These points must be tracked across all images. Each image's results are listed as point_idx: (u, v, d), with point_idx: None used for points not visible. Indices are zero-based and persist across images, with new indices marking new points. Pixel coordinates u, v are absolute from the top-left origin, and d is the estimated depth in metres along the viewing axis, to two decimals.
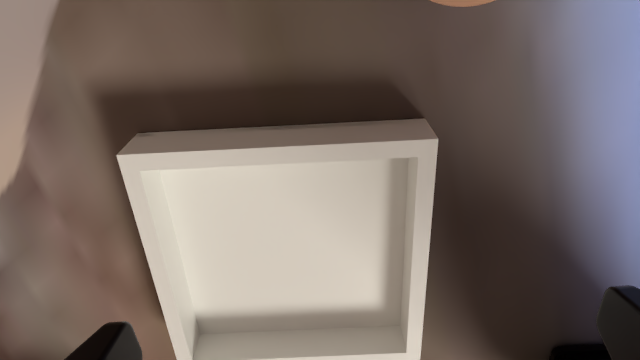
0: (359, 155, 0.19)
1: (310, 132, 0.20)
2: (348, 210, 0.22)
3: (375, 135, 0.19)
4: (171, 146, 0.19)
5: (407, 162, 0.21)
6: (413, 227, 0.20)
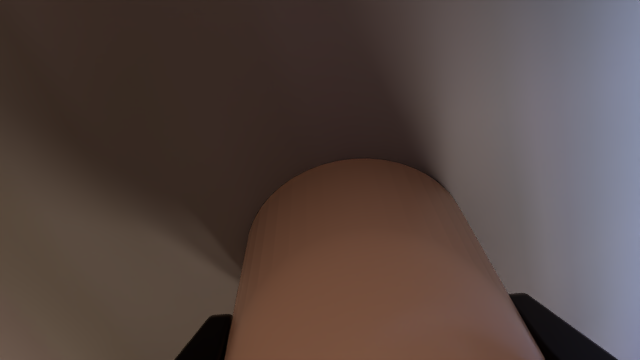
0: None
1: None
2: None
3: None
4: None
5: None
6: None
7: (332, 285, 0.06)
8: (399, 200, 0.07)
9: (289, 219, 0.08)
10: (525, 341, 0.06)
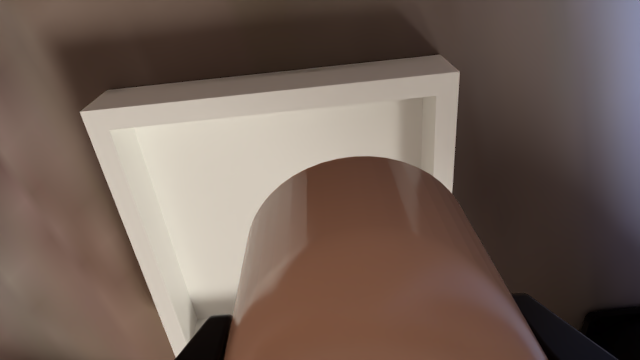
0: (366, 97, 0.16)
1: (307, 76, 0.17)
2: None
3: (384, 73, 0.16)
4: (145, 99, 0.16)
5: (421, 108, 0.18)
6: None
7: (332, 283, 0.06)
8: (399, 198, 0.07)
9: (289, 217, 0.08)
10: (527, 339, 0.05)
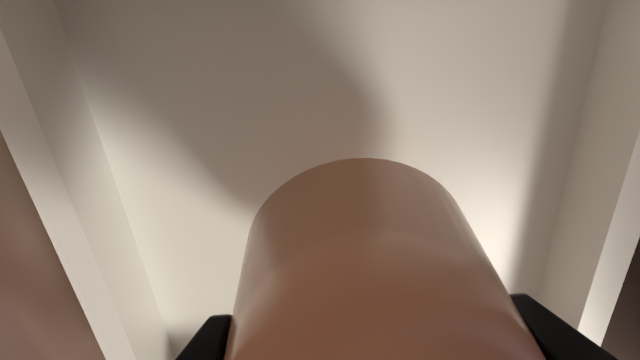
0: None
1: None
2: (465, 116, 0.11)
3: None
4: None
5: None
6: (634, 134, 0.09)
7: (331, 286, 0.06)
8: (399, 200, 0.07)
9: (289, 219, 0.08)
10: (526, 341, 0.05)
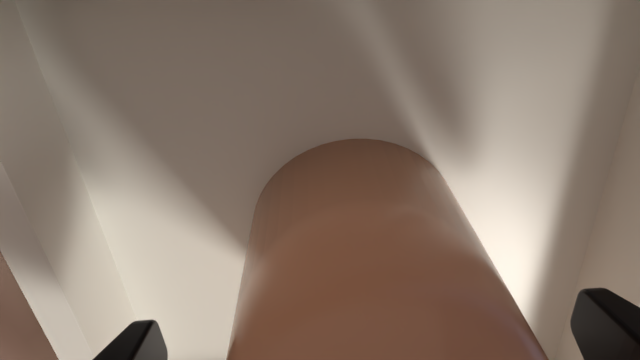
0: None
1: None
2: (487, 140, 0.10)
3: None
4: None
5: None
6: None
7: (330, 240, 0.07)
8: (391, 173, 0.08)
9: (292, 191, 0.08)
10: (499, 287, 0.06)
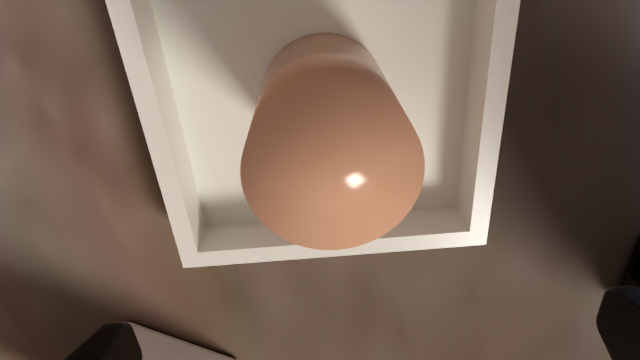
0: None
1: None
2: (397, 33, 0.17)
3: None
4: None
5: None
6: (491, 35, 0.15)
7: (302, 57, 0.14)
8: (337, 41, 0.15)
9: (285, 53, 0.16)
10: (381, 77, 0.14)
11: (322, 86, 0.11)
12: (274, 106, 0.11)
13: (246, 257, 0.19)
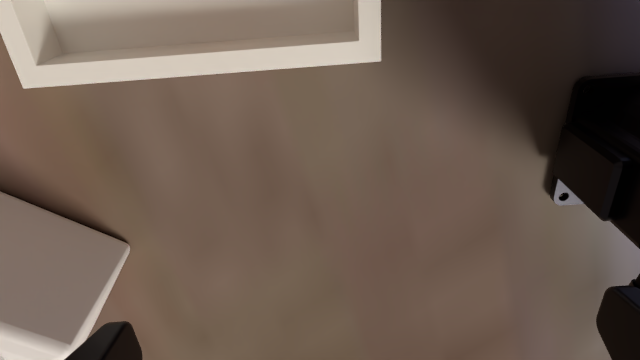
0: None
1: None
2: None
3: None
4: None
5: None
6: None
7: None
8: None
9: None
10: None
11: None
12: None
13: (95, 73, 0.16)
